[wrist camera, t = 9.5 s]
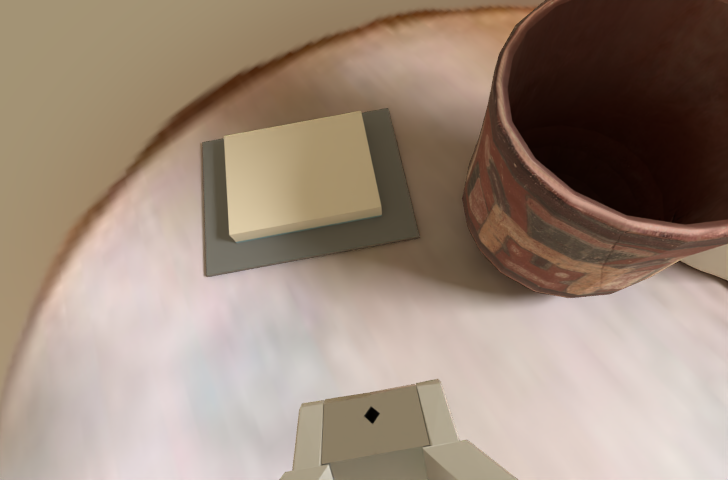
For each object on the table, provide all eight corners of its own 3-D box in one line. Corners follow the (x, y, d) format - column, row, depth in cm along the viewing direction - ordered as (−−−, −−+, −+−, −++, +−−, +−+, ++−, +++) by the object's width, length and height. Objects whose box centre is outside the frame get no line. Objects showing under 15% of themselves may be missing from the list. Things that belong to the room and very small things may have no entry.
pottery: (663, 328, 35) (906, 253, 18) (449, 308, 37) (494, 224, 20) (636, 148, 42) (798, -28, 25) (455, 139, 43) (493, -31, 27)
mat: (388, 110, 45) (388, 107, 45) (419, 237, 40) (419, 236, 39) (204, 144, 45) (202, 142, 45) (208, 277, 39) (206, 275, 39)
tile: (382, 216, 40) (362, 123, 44) (381, 206, 38) (361, 110, 42) (236, 243, 40) (231, 147, 44) (229, 235, 38) (223, 135, 42)
